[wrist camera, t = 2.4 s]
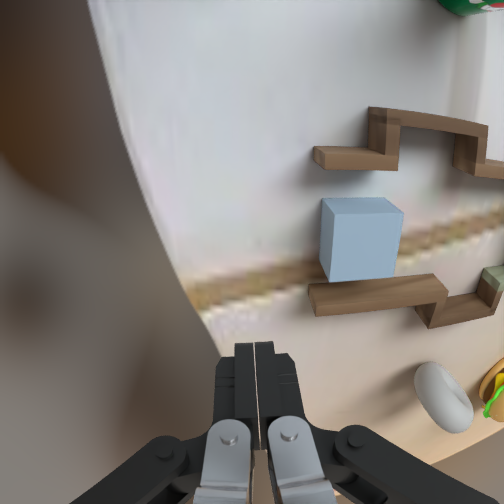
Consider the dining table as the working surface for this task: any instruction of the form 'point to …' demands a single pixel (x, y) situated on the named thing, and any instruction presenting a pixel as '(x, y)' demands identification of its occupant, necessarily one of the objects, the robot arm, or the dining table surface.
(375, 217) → the block
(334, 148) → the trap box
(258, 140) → the dining table surface
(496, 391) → the toy cheeseburger
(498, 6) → the soda can
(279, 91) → the dining table surface
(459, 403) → the donut
